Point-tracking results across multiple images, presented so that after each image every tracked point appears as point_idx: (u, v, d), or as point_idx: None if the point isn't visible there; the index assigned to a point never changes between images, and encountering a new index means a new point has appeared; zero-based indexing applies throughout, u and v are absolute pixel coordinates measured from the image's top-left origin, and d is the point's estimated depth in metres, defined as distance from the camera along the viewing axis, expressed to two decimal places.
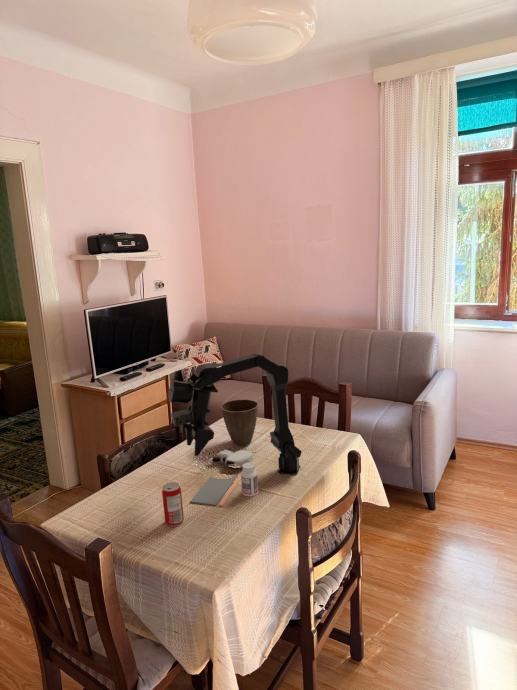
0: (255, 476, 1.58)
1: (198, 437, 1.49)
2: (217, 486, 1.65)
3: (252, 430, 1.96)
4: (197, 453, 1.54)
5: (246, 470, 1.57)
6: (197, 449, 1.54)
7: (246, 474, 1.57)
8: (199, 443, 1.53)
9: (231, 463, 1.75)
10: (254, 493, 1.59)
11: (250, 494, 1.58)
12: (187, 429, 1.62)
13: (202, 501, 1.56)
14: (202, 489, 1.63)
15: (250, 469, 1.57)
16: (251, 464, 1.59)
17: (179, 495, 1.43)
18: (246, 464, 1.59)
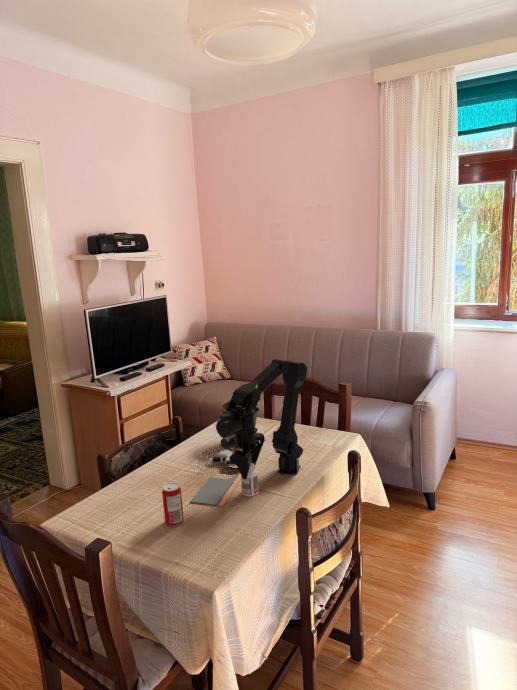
0: (255, 476, 1.58)
1: (232, 462, 1.50)
2: (217, 486, 1.65)
3: None
4: (244, 476, 1.54)
5: None
6: (243, 473, 1.54)
7: None
8: (242, 467, 1.53)
9: None
10: (254, 493, 1.59)
11: (250, 494, 1.58)
12: None
13: (202, 501, 1.56)
14: (202, 489, 1.63)
15: (250, 469, 1.57)
16: (251, 464, 1.59)
17: (179, 495, 1.43)
18: None
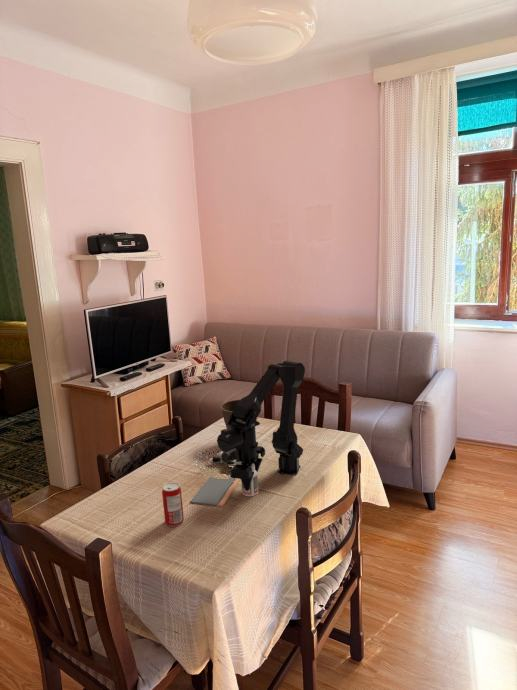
0: (255, 476, 1.58)
1: (232, 477, 1.51)
2: (217, 486, 1.65)
3: None
4: (247, 487, 1.57)
5: None
6: (245, 484, 1.57)
7: None
8: (244, 478, 1.56)
9: (231, 463, 1.75)
10: (254, 493, 1.59)
11: (250, 494, 1.58)
12: None
13: (202, 501, 1.56)
14: (202, 489, 1.63)
15: None
16: None
17: (179, 495, 1.43)
18: None
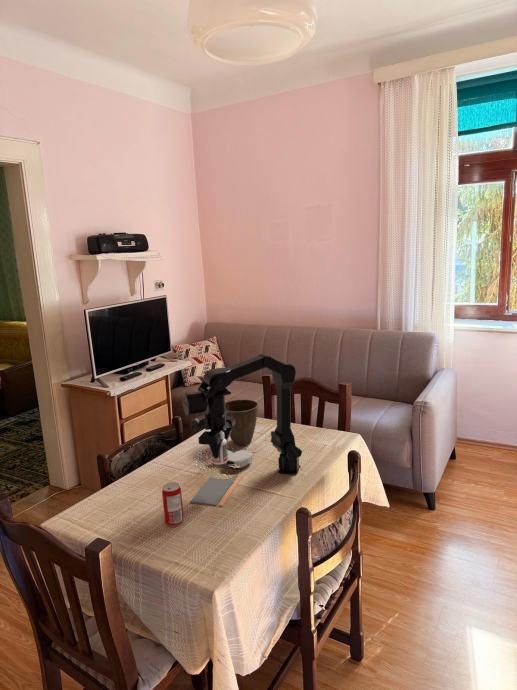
0: (224, 444, 1.58)
1: (201, 443, 1.51)
2: (217, 486, 1.65)
3: (252, 430, 1.96)
4: (215, 455, 1.57)
5: None
6: (214, 452, 1.57)
7: None
8: (213, 446, 1.56)
9: (231, 463, 1.75)
10: (223, 461, 1.59)
11: (219, 462, 1.58)
12: None
13: (202, 501, 1.56)
14: (202, 489, 1.63)
15: None
16: (221, 432, 1.60)
17: (179, 495, 1.43)
18: None
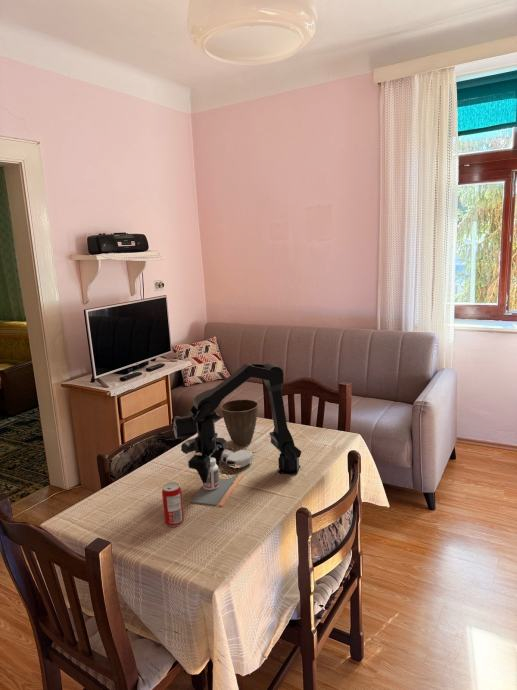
0: (215, 470, 1.62)
1: (190, 467, 1.54)
2: None
3: (252, 430, 1.96)
4: (204, 480, 1.59)
5: None
6: (202, 477, 1.59)
7: None
8: (201, 471, 1.58)
9: (232, 463, 1.75)
10: (214, 487, 1.63)
11: (210, 488, 1.62)
12: (211, 454, 1.68)
13: (202, 501, 1.56)
14: (202, 489, 1.63)
15: (211, 463, 1.61)
16: (212, 458, 1.64)
17: (179, 495, 1.43)
18: None
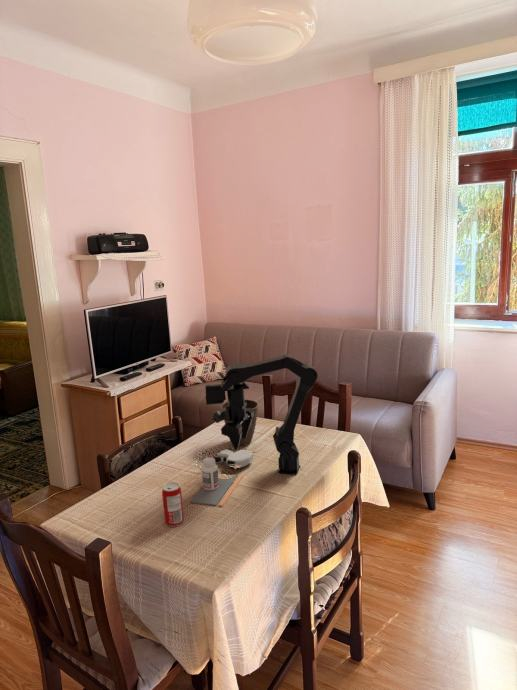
0: (215, 471, 1.62)
1: (223, 433, 1.61)
2: None
3: (252, 430, 1.96)
4: (236, 447, 1.66)
5: (206, 465, 1.61)
6: (234, 444, 1.66)
7: (206, 469, 1.61)
8: (233, 438, 1.65)
9: (232, 463, 1.75)
10: (214, 487, 1.63)
11: (210, 488, 1.62)
12: (240, 424, 1.75)
13: (202, 501, 1.56)
14: (202, 489, 1.63)
15: (210, 464, 1.61)
16: (212, 459, 1.63)
17: (179, 495, 1.43)
18: (207, 459, 1.63)
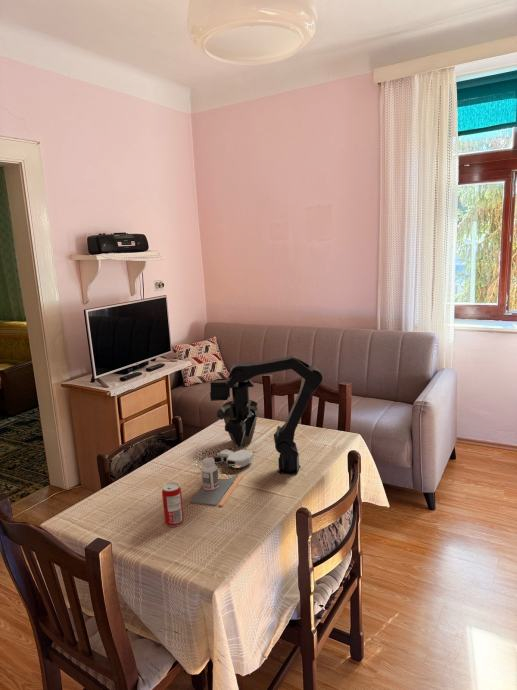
0: (215, 471, 1.62)
1: (227, 430, 1.62)
2: None
3: (252, 430, 1.96)
4: (239, 444, 1.67)
5: (206, 465, 1.61)
6: (237, 441, 1.67)
7: (206, 469, 1.62)
8: (237, 435, 1.66)
9: (232, 463, 1.75)
10: (214, 487, 1.63)
11: (210, 488, 1.62)
12: None
13: (202, 501, 1.56)
14: (202, 489, 1.63)
15: (209, 464, 1.61)
16: (211, 459, 1.63)
17: (179, 495, 1.43)
18: (206, 459, 1.63)
